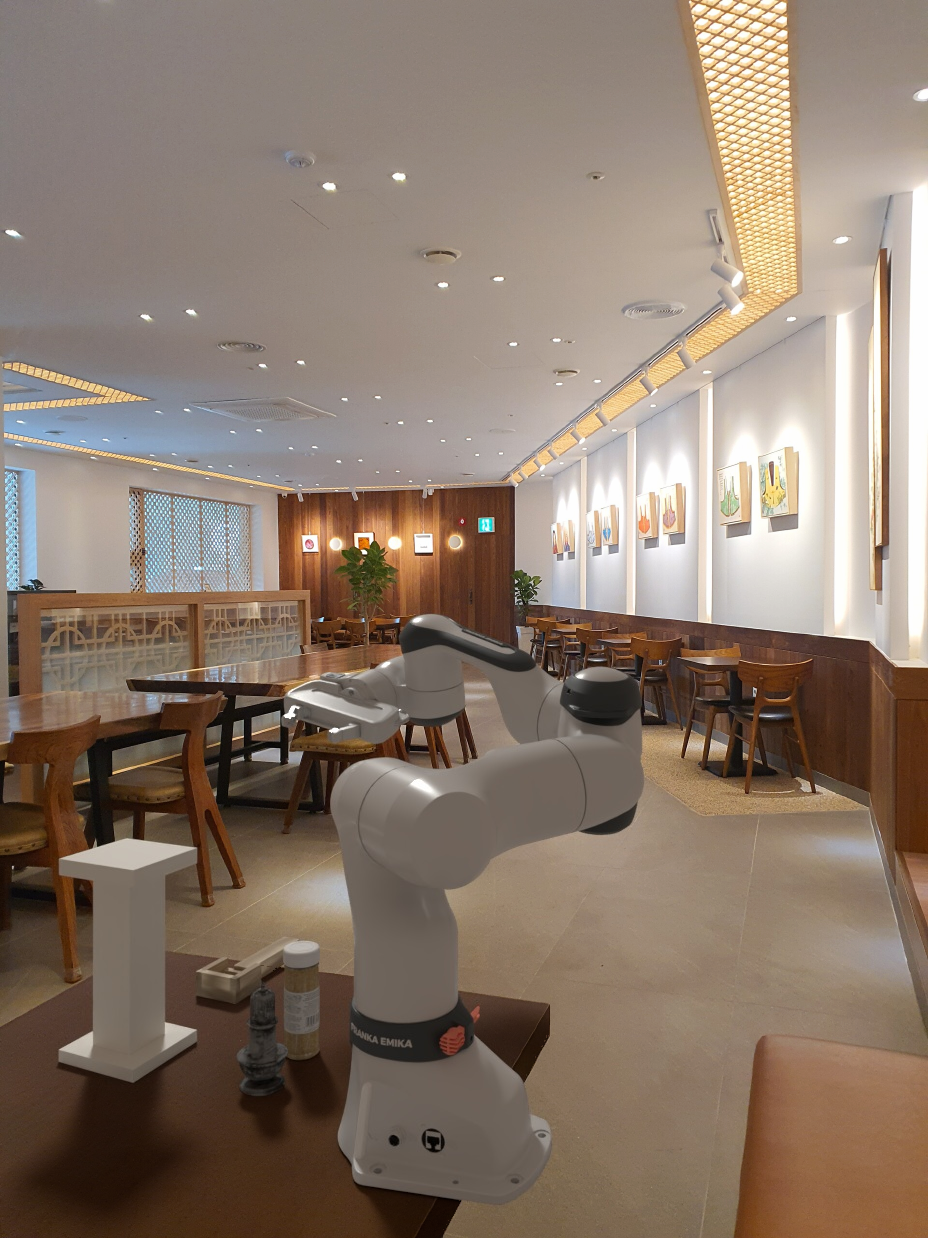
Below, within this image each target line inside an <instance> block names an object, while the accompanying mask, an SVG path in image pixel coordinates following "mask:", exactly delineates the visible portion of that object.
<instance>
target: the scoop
mask: <svg viewBox="0 0 928 1238" xmlns="http://www.w3.org/2000/svg"><path fill="white" fill-rule="evenodd" d="M297 941H301V939H300V938H296V937H289V936H282V937H281V938H279V939H276V940H275V941H274V942H272V943H270V944H269V945H267V946H265V947H263V948H261V949H260V950H258V951H257V952H255V953H253V954H251V955H249V956H248V957H246V958H244V959H242V960H240V961H239V962H237V963H235V964H234V965H233V968H232V967H229V957H227V956H222V957H219V958H217V960H215V961H213V962H211V963H209V964H207V965H205V966H203V967H202V968H200V969H198V970H196V971H195V996H196V997H200V998H201V997H202V998H206V999H210V1000H215V1001H220V1002H224V1003H227V1004H228V1003H230V1004H233V1005H236V1004H238V1003H240V1002H241V1001H243V1000H244V999H246V998H248V997H249V996H251V995H252V993H253V992H254V991H256V990H257V989H259V988H261V986H260V985H261V983H262V979H263V978H264V977H267V976H268V975H269V974H271V973H272V972H274V971H275V970H277V969H279V968H280V967H282V966H284V963H283V949H284V947H285V946H286V945H288V944H290V943H293V942H297ZM261 965H264V966H261ZM267 966H272V967H277V969H275V968H271V967H267ZM273 970H274V971H273Z"/></svg>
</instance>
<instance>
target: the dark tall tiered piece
mask: <svg viewBox="0 0 928 1238" xmlns="http://www.w3.org/2000/svg"><path fill="white" fill-rule="evenodd" d="M260 986H261V988H259V989H257V990H256V991H254V992H253V993H252V994H251V995H250V998H249V1008H250V1009H249V1012H250V1014H249V1016H250V1017H249V1018H248V1019H247V1021H246V1025H247V1027H249V1033H248V1036H249V1037H248V1039H249V1040H248V1044H247V1045H245V1046H243V1048H241V1049H240V1050H239V1051H238V1052H237V1054H236V1060H237V1062H238V1063H239V1068H240V1069H241V1072H242V1074H243V1075H244V1076H245V1077H244V1078H242V1079H241V1081H240V1082H239V1084H238V1085H239V1086H238V1088H239V1090H240V1091H239V1092H241V1093H243V1094H244V1095H247V1096H250V1095H251V1097H264V1096H270V1095H272V1094H275V1093H277V1092H279V1091H280V1090H281V1089H283V1087H284V1086H285V1085H286V1078H285V1076H284V1075H282V1074H281V1073H280V1072H281V1071H282V1069H283V1067H284V1065H285V1063H286V1058H287V1057H286V1056H287V1055H288V1049H287V1048H286V1046H285V1044H283V1043H280V1042H277V1037H276V1032H277V1031H276V1029H277V1028H276V1026H277V1024H278V1023H279V1018H278V1016H276V993H275V992H274V991H273V989H270V988H267V987H265V986H266V983H265V982H264V981H261V985H260Z"/></svg>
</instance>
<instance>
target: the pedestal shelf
mask: <svg viewBox="0 0 928 1238" xmlns="http://www.w3.org/2000/svg"><path fill="white" fill-rule="evenodd" d="M196 864H198V847H195V846H193V847H192V846H186V845H179V844H171V843H165V842H156V841H149V840H141V839H135V838H127V837H125V838H123V839H119V840H116V841H113V842H110V843H107V844H102V845H100V846H97V847H93V848H90V849H86V850H83V851H80V852H76V853H74V854H70V855H67V856H63V857H61V858H59V859H58V875H59V876H63V877H69V878H74V879H82V880H87V881H92V1031H90V1032H88V1033H86V1034H85V1035H83V1036H81V1037H79V1038H77V1039H76V1040H74V1041H72V1042H71V1043H68V1044H66V1045H65V1046H62V1047H61V1048H60V1049H58V1062H59V1063H61V1064H65V1065H69V1066H72V1067H75V1068H79V1069H83V1070H86V1071H90V1072H92V1073H93V1072H94V1073H96V1074H97V1073H98V1074H100V1075H103V1076H108V1077H111V1078H114V1079H118V1080H121V1081H124V1082H129V1083H132V1084H134V1083H135V1082H136V1081H138V1080H140V1079H141V1078H143V1077H144V1076H146V1075H148V1074H149V1073H151V1072H152V1071H154V1070H155V1069H157V1068H159V1067H160V1066H162V1065H163V1064H164V1063H166V1062H168V1061H169V1060H170V1059H172V1058H174V1057H175V1056H177V1055H179V1054H180V1053H181V1052H183V1051H184V1050H187V1048H189V1047H191V1046H192V1045H194V1044H195V1043H197V1042H198V1029H194V1028H190V1027H186V1026H182V1025H179V1024H176V1023H175V1024H174V1023H170V1022H166V876H167V875H170V874H173V873H174V872H177V871H181V870H183V869H185V868H189V867H191V866H194V865H196Z"/></svg>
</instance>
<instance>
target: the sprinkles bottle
mask: <svg viewBox="0 0 928 1238" xmlns="http://www.w3.org/2000/svg"><path fill="white" fill-rule="evenodd" d="M320 961H321V948H320V945H319V944H318V943H317V942H314V941H310V940H300V941H297V942H293V943H290V944H288V945H286V946H285V947H284V949H283V963H284V965H283V967H284V983H283V984H284V986H283V1029H284V1034H283V1035H284V1046H286V1048H287V1049H288V1055H287V1056H286V1058H289V1059H290V1060H293V1061H294V1060H295V1061H304V1060H308V1059H312V1058H313V1057H315V1056H316V1055H317V1054H319V1052H320V1049H321V1048H320V1044H319V1037H320V1036H319V1034H320V1033H319V1031H320V1029H319V1027H320V983H319V982H320V979H319V978H320V977H319V976H320V975H319V974H320V973H319V969H320V968H319V967H320V966H319V965H320Z"/></svg>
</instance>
